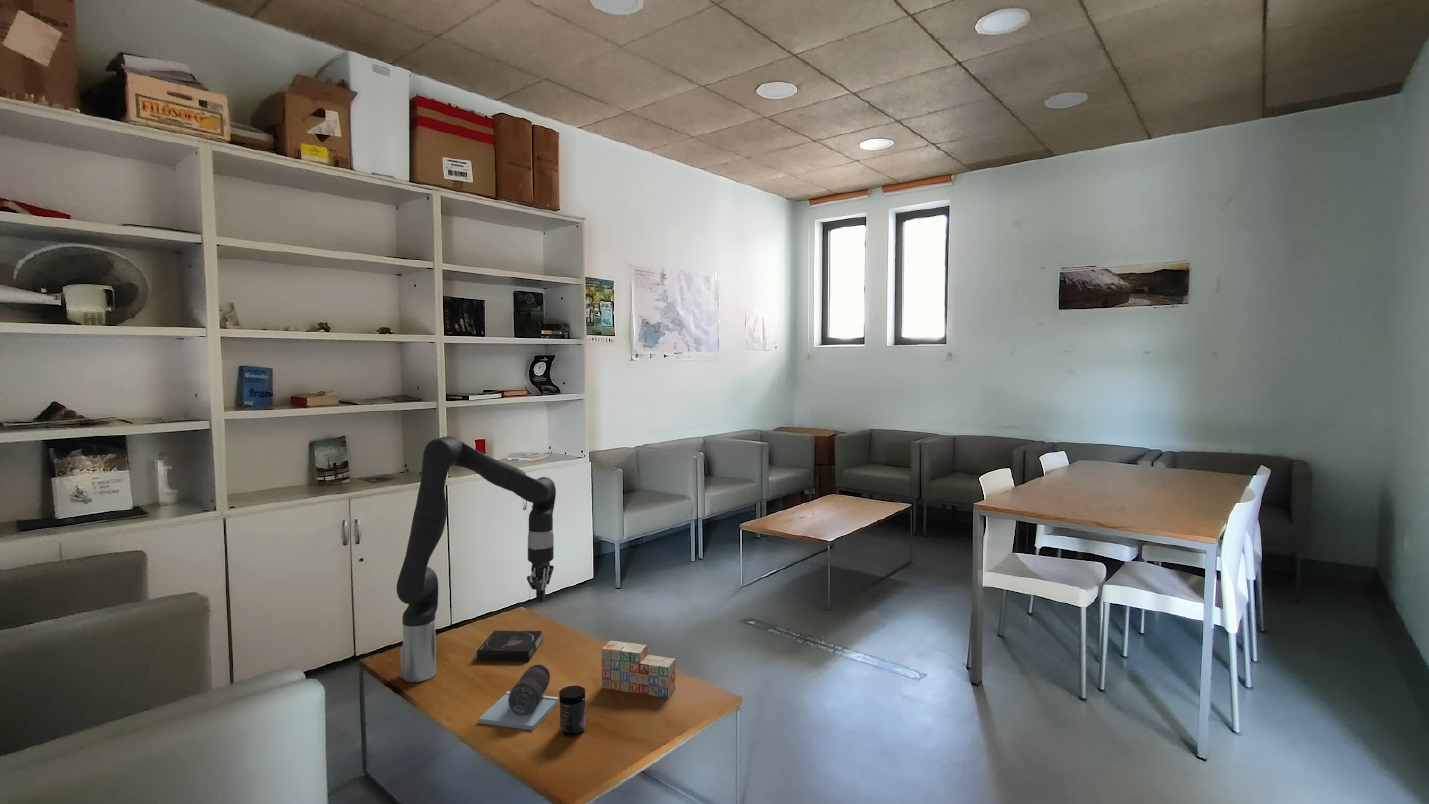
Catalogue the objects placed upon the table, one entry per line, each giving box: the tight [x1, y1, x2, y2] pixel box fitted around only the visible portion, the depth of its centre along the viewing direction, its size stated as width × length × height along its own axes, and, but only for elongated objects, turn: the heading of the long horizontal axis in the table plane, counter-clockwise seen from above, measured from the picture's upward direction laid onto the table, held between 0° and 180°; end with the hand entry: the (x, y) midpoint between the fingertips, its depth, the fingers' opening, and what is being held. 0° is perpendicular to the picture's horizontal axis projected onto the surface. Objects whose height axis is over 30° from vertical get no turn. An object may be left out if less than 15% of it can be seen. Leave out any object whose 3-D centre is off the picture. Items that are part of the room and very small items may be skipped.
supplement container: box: [558, 685, 586, 737], centre depth 176 cm, size 7×7×10 cm
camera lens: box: [508, 664, 551, 715], centre depth 188 cm, size 8×8×15 cm
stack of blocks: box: [600, 640, 676, 699], centre depth 199 cm, size 21×6×12 cm, turn 73°
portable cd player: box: [476, 629, 544, 663], centre depth 225 cm, size 16×17×4 cm
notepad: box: [478, 690, 559, 731], centre depth 185 cm, size 16×15×2 cm
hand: (540, 601), depth 201 cm, fingers closed
